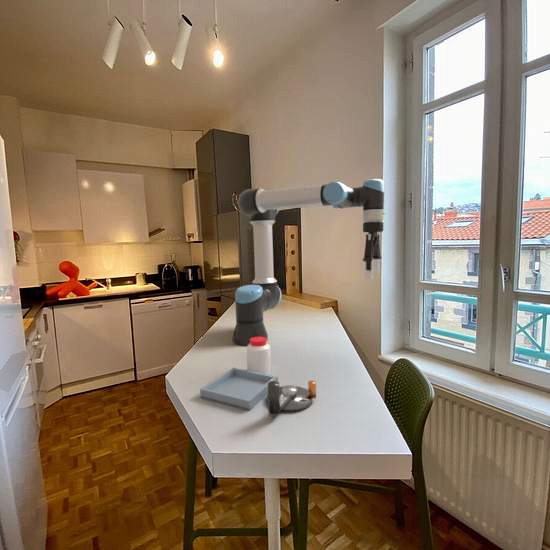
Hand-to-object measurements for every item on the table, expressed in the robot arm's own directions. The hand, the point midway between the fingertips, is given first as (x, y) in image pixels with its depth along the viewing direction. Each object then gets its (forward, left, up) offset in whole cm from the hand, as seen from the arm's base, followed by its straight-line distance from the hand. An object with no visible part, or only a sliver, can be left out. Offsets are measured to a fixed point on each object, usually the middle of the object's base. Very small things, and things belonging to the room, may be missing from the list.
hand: (372, 277), depth 122 cm
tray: (-27, -54, -28) cm, 66 cm away
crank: (-12, -57, -26) cm, 64 cm away
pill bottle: (-29, -40, -28) cm, 56 cm away
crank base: (-12, -53, -28) cm, 61 cm away
